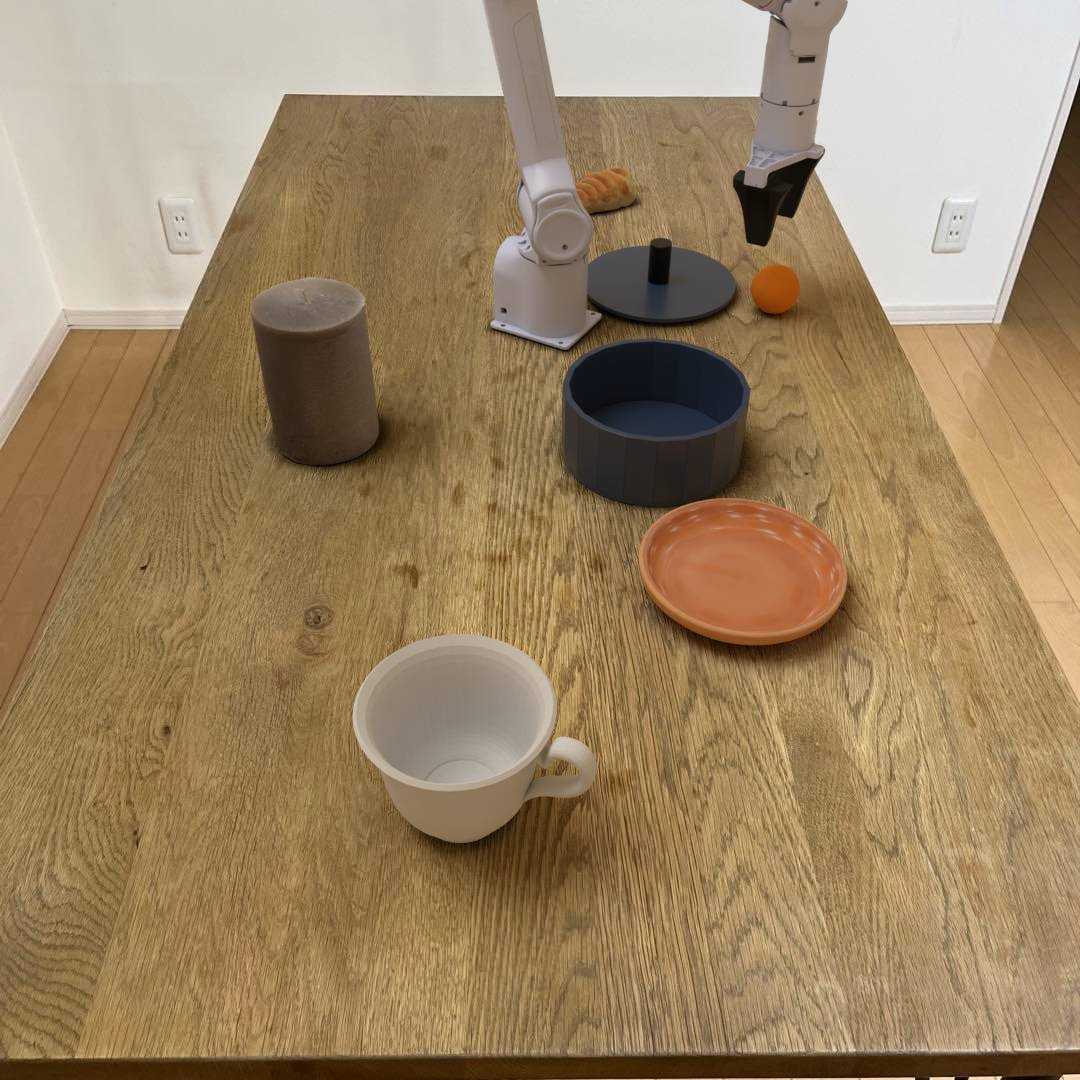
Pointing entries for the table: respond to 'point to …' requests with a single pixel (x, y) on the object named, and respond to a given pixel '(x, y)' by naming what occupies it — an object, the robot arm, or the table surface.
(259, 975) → the table surface
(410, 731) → the teacup
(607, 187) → the pastry
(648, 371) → the pot
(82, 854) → the table surface
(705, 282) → the lid
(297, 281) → the pillar candle
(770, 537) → the saucer
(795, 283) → the orange
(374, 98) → the table surface
